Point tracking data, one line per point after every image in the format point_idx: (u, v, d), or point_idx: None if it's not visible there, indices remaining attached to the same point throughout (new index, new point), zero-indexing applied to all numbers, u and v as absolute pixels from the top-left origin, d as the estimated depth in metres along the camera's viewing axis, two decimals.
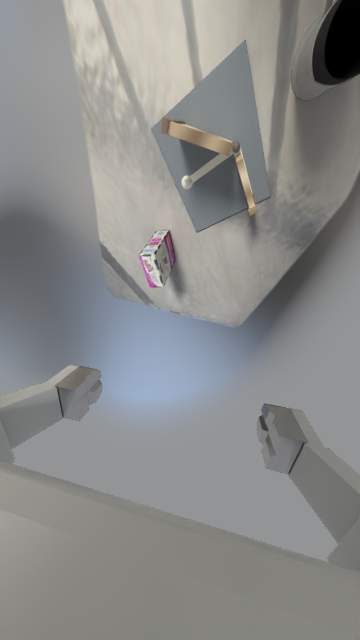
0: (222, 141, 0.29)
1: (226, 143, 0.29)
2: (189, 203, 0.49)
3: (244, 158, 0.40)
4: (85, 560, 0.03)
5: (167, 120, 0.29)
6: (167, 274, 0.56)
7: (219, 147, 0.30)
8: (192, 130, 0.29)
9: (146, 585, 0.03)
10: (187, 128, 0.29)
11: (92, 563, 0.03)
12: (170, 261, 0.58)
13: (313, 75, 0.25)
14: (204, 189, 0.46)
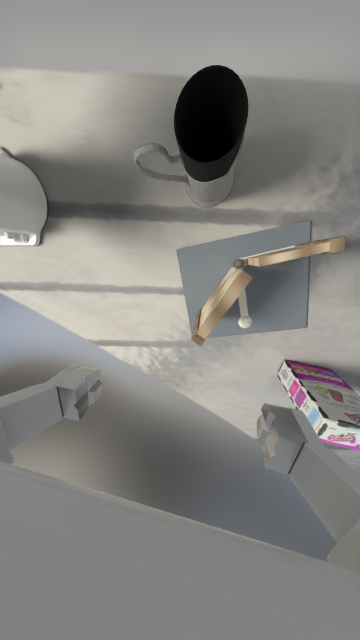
0: (235, 283, 0.23)
1: (239, 278, 0.23)
2: (267, 325, 0.38)
3: (252, 254, 0.34)
4: (85, 560, 0.03)
5: (195, 336, 0.27)
6: None
7: (239, 287, 0.23)
8: (212, 314, 0.25)
9: (146, 585, 0.03)
10: (208, 318, 0.26)
11: (92, 563, 0.03)
12: (335, 381, 0.35)
13: (222, 176, 0.23)
14: (261, 304, 0.37)
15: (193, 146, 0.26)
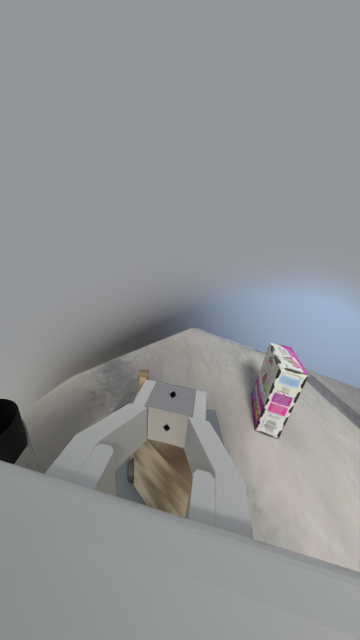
0: None
1: None
2: None
3: None
4: (85, 560, 0.03)
5: None
6: (263, 363, 0.41)
7: None
8: (180, 468, 0.16)
9: (146, 585, 0.03)
10: (187, 477, 0.16)
11: (92, 563, 0.03)
12: (257, 386, 0.42)
13: (25, 448, 0.20)
14: None
15: None
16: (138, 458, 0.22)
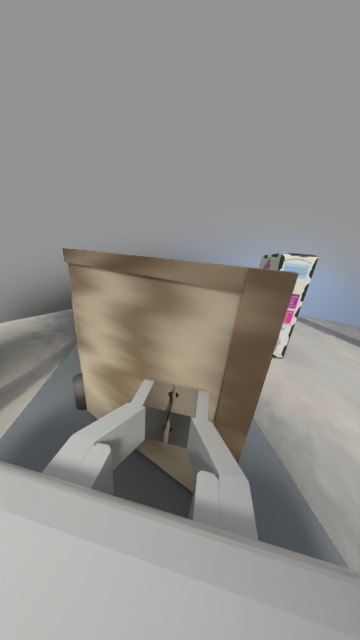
0: (83, 250, 0.10)
1: None
2: None
3: None
4: (85, 560, 0.03)
5: (266, 270, 0.06)
6: None
7: None
8: (157, 258, 0.08)
9: (146, 585, 0.03)
10: None
11: (92, 563, 0.03)
12: None
13: None
14: None
15: None
16: (84, 341, 0.13)
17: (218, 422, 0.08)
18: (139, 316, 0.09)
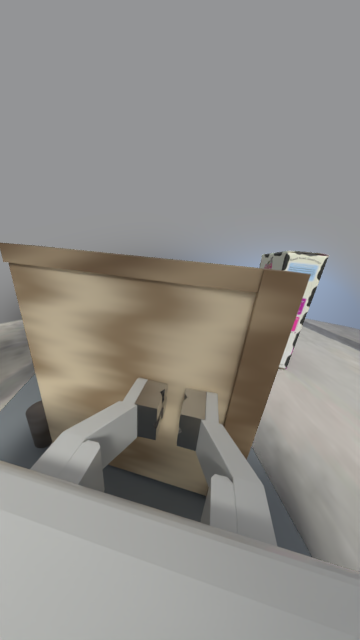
0: None
1: (23, 245, 0.08)
2: None
3: None
4: (85, 560, 0.03)
5: (279, 271, 0.06)
6: None
7: None
8: (154, 258, 0.07)
9: (146, 585, 0.03)
10: (177, 261, 0.06)
11: (92, 563, 0.03)
12: None
13: None
14: None
15: None
16: (45, 363, 0.10)
17: (229, 421, 0.08)
18: (130, 325, 0.08)
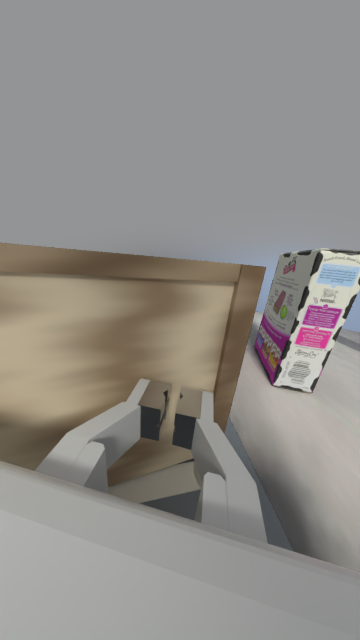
0: None
1: None
2: None
3: None
4: (85, 560, 0.03)
5: (249, 265, 0.08)
6: (272, 289, 0.27)
7: None
8: (156, 257, 0.07)
9: (146, 585, 0.03)
10: (178, 260, 0.07)
11: (92, 563, 0.03)
12: (264, 326, 0.28)
13: None
14: None
15: None
16: None
17: (220, 385, 0.10)
18: (129, 328, 0.07)
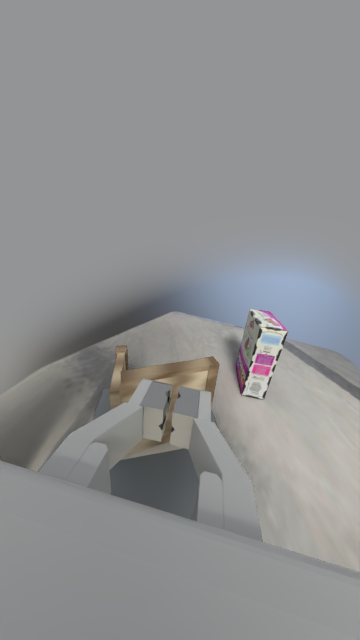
0: (137, 376, 0.20)
1: (130, 377, 0.19)
2: None
3: None
4: (85, 560, 0.03)
5: (213, 364, 0.23)
6: (245, 331, 0.41)
7: (138, 371, 0.20)
8: (181, 369, 0.21)
9: (146, 585, 0.03)
10: (188, 368, 0.22)
11: (92, 563, 0.03)
12: (240, 354, 0.42)
13: None
14: None
15: None
16: None
17: None
18: (172, 389, 0.22)
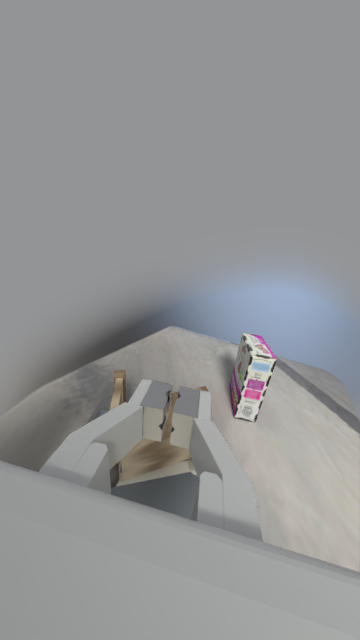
0: None
1: None
2: None
3: None
4: (85, 560, 0.03)
5: None
6: (238, 353, 0.43)
7: None
8: (175, 400, 0.23)
9: (146, 585, 0.03)
10: None
11: (92, 563, 0.03)
12: (234, 375, 0.44)
13: None
14: None
15: None
16: None
17: None
18: None
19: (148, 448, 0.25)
